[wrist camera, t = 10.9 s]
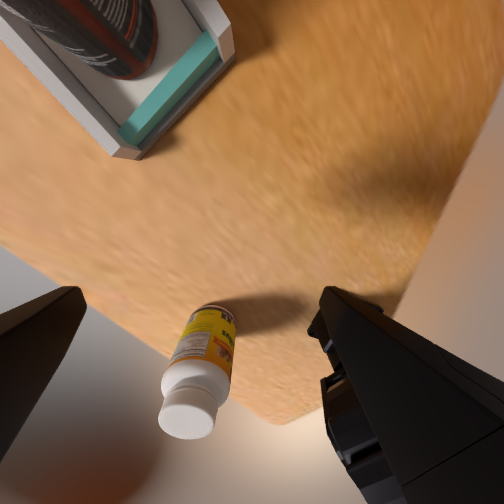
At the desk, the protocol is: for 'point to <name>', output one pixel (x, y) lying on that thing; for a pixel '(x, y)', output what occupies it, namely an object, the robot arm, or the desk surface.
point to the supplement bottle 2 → (198, 374)
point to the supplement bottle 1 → (97, 31)
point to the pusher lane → (140, 88)
